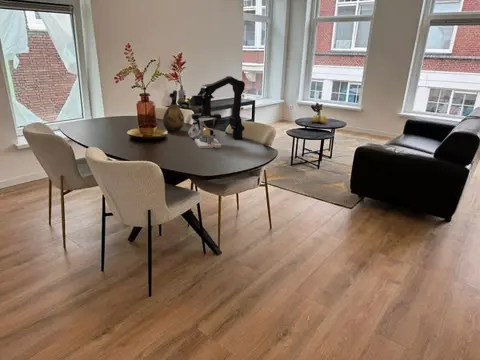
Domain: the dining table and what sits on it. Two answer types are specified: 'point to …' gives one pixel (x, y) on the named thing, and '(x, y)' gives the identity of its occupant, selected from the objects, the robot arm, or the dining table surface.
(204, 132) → the brass cylinder
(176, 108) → the ceramic jug
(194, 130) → the mechanical valve
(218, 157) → the dining table surface
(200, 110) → the robot arm
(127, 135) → the dining table surface
